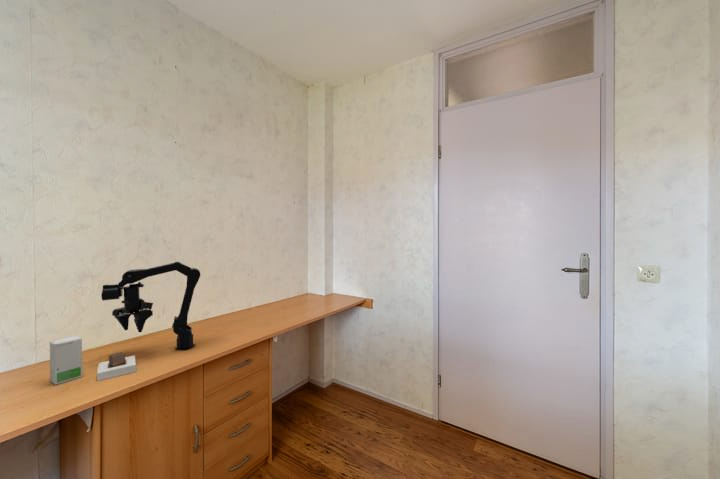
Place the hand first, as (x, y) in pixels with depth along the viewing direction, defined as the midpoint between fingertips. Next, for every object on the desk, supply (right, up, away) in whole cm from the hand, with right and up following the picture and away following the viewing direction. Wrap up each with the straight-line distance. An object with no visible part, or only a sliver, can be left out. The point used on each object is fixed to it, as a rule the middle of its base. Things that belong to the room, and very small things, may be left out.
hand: (133, 331), depth 139 cm
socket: (+4, -12, -14) cm, 19 cm away
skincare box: (-11, -13, -20) cm, 26 cm away
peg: (+4, -12, -14) cm, 19 cm away
